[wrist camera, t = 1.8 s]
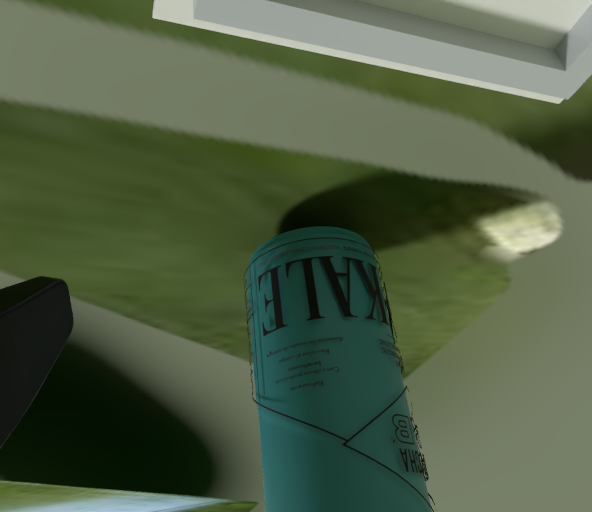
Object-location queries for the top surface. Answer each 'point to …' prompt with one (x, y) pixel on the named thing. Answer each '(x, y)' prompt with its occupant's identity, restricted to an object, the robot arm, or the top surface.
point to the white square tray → (422, 36)
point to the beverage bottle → (329, 379)
